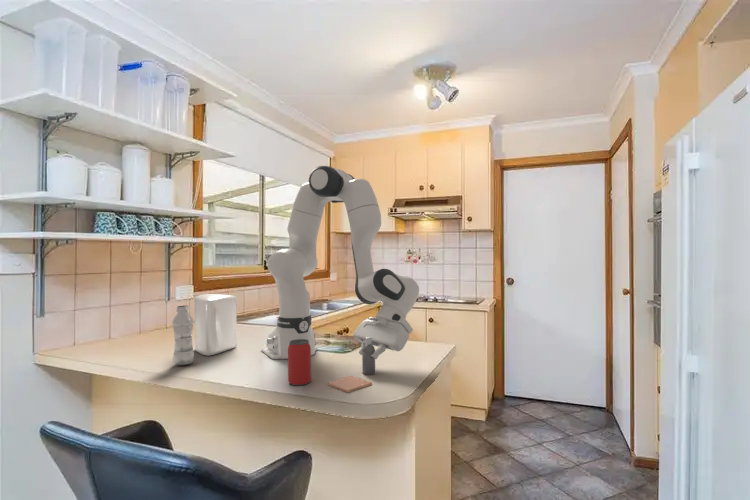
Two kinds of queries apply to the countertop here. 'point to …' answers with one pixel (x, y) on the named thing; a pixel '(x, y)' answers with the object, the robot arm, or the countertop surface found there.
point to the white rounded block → (215, 323)
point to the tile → (349, 383)
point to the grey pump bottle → (368, 357)
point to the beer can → (299, 362)
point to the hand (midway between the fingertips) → (367, 356)
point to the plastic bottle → (183, 336)
